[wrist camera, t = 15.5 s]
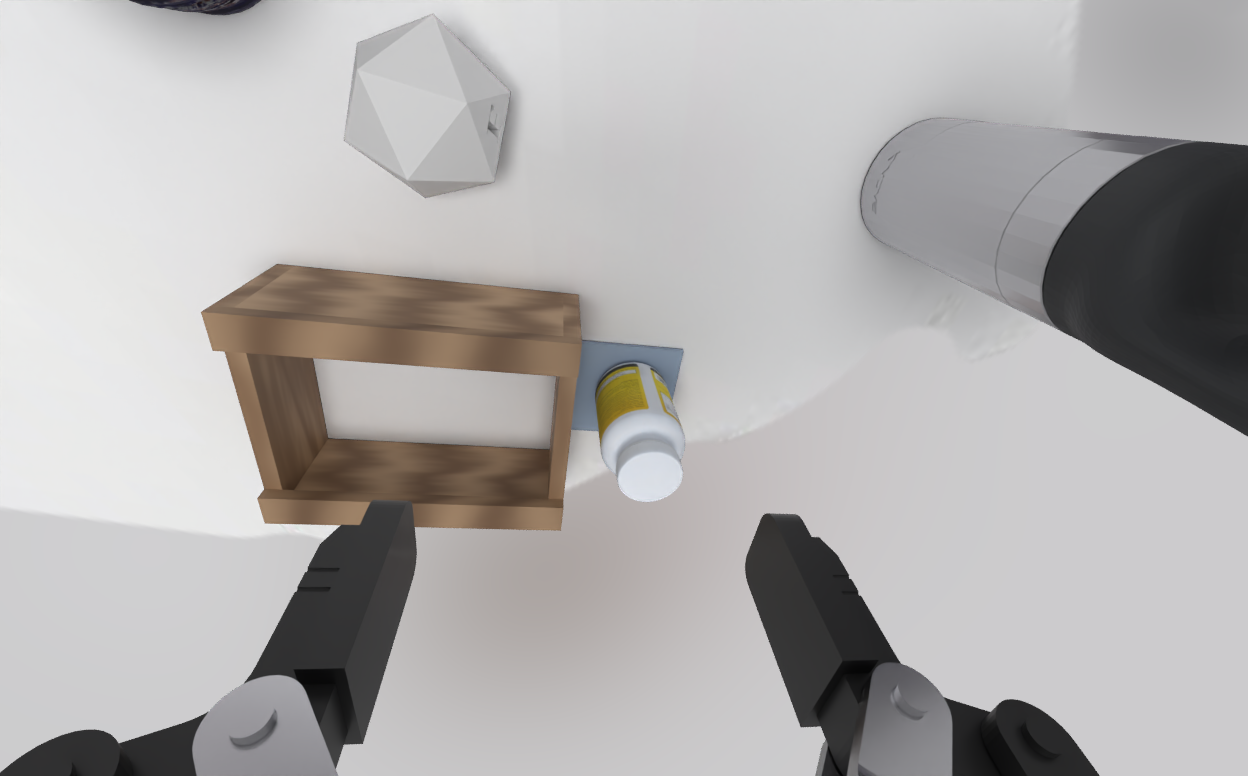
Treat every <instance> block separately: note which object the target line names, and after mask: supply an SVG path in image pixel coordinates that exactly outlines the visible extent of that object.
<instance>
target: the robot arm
mask: <svg viewBox="0 0 1248 776" xmlns="http://www.w3.org/2000/svg"><path fill="white" fill-rule="evenodd" d="M861 209H862V216H863V219H864V222H865V224H866V227H867V228H868V230H869V231H870V232H871V234H872V235H873V236H874V237H875V238H877V239H878V240H879V241H881V242H883V243H885V244H887V245H889V246H891V247H893V248H895V249H897V250H899V251H901V252H903V253H905V254H907V255H908V256H910V257H912V258H914V259H916V260H918V261H920V262H922V263H924V264H926V265H928V266H930V267H932V268H934V269H936V270H939V271H941V272H943V273H945V274H947V275H949V276H951V277H953V278H955V279H957V280H959V281H961V282H963V283H965V284H967V285H969V286H971V287H973V288H975V289H977V290H979V291H981V292H983V293H985V294H987V295H989V296H991V297H993V298H995V299H997V300H999V301H1001V302H1003V303H1005V304H1007V305H1009V306H1011V307H1013V308H1015V309H1017V310H1019V311H1022V312H1024V313H1026V314H1028V315H1030V316H1032V317H1034V318H1036V319H1038V320H1040V321H1042V322H1044V323H1046V324H1048V325H1050V326H1052V327H1054V328H1056V329H1058V330H1060V331H1062V332H1064V333H1066V334H1068V335H1070V336H1072V337H1074V338H1076V339H1078V340H1080V341H1082V342H1084V343H1085V344H1087V345H1088V346H1090V347H1091V348H1092V349H1094V350H1095V351H1097V352H1098V353H1100V354H1102V355H1103V356H1105V357H1107V358H1109V359H1110V360H1112V361H1114V362H1116V363H1118V364H1120V365H1122V366H1123V367H1125V368H1127V369H1129V370H1131V371H1133V372H1135V373H1137V374H1139V375H1141V376H1143V377H1145V378H1147V379H1148V380H1151V381H1152V382H1154V383H1156V384H1158V385H1160V386H1162V387H1163V388H1165V389H1167V390H1169V391H1170V392H1172V393H1174V394H1176V395H1177V396H1179V397H1181V398H1183V399H1185V400H1186V401H1188V402H1190V403H1192V404H1193V405H1195V406H1197V407H1198V408H1200V409H1202V410H1204V411H1205V412H1207V413H1209V414H1211V415H1212V416H1214V417H1215V418H1217V419H1219V420H1221V421H1222V422H1224V423H1226V424H1227V425H1229V426H1231V427H1233V428H1234V429H1236V430H1238V431H1239V432H1241V433H1243V434H1244V435H1246V436H1248V146H1247V145H1237V144H1224V143H1215V142H1201V141H1190V140H1179V139H1168V138H1157V137H1146V136H1130V135H1120V134H1109V133H1098V132H1086V131H1076V130H1066V129H1055V128H1044V127H1033V126H1022V125H1011V124H1000V123H990V122H982V121H971V120H960V119H949V118H936V119H928V120H925V121H922V122H918V123H916V124H914V125H912V126H910V127H908V128H907V129H905V130H903V131H902V132H901V133H899V134H898V135H897V136H895V137H894V138H893V139H892V140H891V141H890V142H889V143H888V144H887V145H886V146H885V147H884V148H883V149H882V150H881V152H880V153H879V155H878V156H877V158H876V159H875V161H874V162H873V164H872V165H871V168H870V170H869V172H868V174H867V176H866V179H865V182H864V186H863V190H862V198H861ZM416 550H417V549H416V538H415V527H414V516H413V506H412V503H411V501H399V500H372V501H371V503H370V504H369V506H368V508H367V510H366V512H365V515H364V517H363V519H362V521H361V523H360V525H341V526H340V527H338V528H337V529H336V530H335V531H334V532H333V533H332V534H331V535H330V536H329V537H327V538H326V539H325V540H324V541H323V542H322V543H321V544H320V546H319V547H318V549H317V551H316V553H315V555H314V557H313V559H312V561H311V562H310V564H309V566H308V571H307V572H305V574H304V576H303V578H302V580H301V581H300V584H299V585H298V590H297V592H295V593H294V595H293V597H292V598H291V600H290V602H289V604H288V606H287V608H286V610H285V612H284V614H283V616H282V618H281V619H280V621H279V623H278V625H277V627H276V629H275V631H274V633H273V634H272V636H271V638H270V640H269V642H268V644H267V646H266V648H265V650H264V652H263V653H262V655H261V657H260V659H259V661H258V663H257V665H256V667H255V668H254V670H253V672H252V673H251V675H250V676H249V677H248V679H247V680H246V681H245V683H244V684H242V685H241V686H239V687H237V688H236V689H234V690H232V691H231V692H230V693H228V694H227V695H226V696H224V697H223V698H222V699H221V700H220V701H219V702H217V704H215V705H214V707H213V708H212V709H211V710H210V711H209V712H207V713H206V714H204V715H201V716H199V717H197V718H195V719H193V720H190V721H187V722H185V723H182V724H179V725H176V726H172V727H169V728H166V729H163V730H160V731H157V732H154V733H151V734H147V735H144V736H141V737H138V738H135V739H132V740H129V741H125V742H122V743H118V742H117V740H116V739H115V738H114V737H113V736H112V735H111V734H108V733H106V732H104V731H100V730H82V731H75V732H71V733H68V734H65V735H61V736H59V737H56V738H54V739H52V740H49V741H47V742H45V743H43V744H41V745H39V746H37V747H35V748H34V749H32V750H31V751H29V752H27V753H26V754H24V755H23V756H21V757H20V758H18V759H17V760H16V761H14V762H13V763H11V764H10V765H9V766H8V767H7V768H5V769H4V770H3V771H2V772H1V773H0V776H338V774H337V772H336V766H337V763H338V760H339V757H340V754H341V751H342V748H343V745H344V744H363V741H364V738H365V735H366V731H367V727H368V725H369V722H370V718H371V715H372V712H373V708H374V705H375V701H376V699H377V695H378V692H379V689H380V685H381V682H382V679H383V675H384V672H385V669H386V666H387V662H388V659H389V656H390V652H391V649H392V646H393V643H394V639H395V636H396V633H397V629H398V626H399V622H400V619H401V616H402V613H403V609H404V606H405V603H406V600H407V596H408V593H409V590H410V586H411V583H412V580H413V576H414V571H415V565H416V555H417V551H416ZM745 571H746V578H747V582H748V585H749V588H750V591H751V594H752V596H753V599H754V602H755V604H756V607H757V610H758V612H759V615H760V618H761V621H762V623H763V626H764V629H765V631H766V634H767V637H768V640H769V642H770V645H771V647H772V650H773V653H774V656H775V658H776V661H777V664H778V667H779V669H780V672H781V675H782V677H783V680H784V683H785V686H786V688H787V691H788V694H789V696H790V699H791V702H792V704H793V707H794V710H795V712H796V715H797V718H798V721H799V723H800V726H801V727H817V726H821V728H822V730H823V733H824V736H825V738H826V740H825V742H824V743H823V746H822V748H821V753H820V758H819V762H818V766H817V771H816V776H1099V774H1098V773H1097V771H1095V769H1094V767H1093V766H1092V765H1091V763H1090V762H1089V761H1088V759H1087V758H1086V756H1085V755H1084V754H1083V752H1082V751H1081V749H1080V748H1079V747H1078V746H1077V744H1076V743H1075V741H1074V740H1073V739H1072V738H1071V736H1070V735H1069V734H1068V733H1067V732H1066V731H1065V729H1063V727H1062V726H1060V725H1059V724H1058V723H1057V722H1056V721H1055V720H1054V719H1053V718H1051V717H1050V716H1049V715H1048V714H1046V713H1045V712H1043V711H1042V710H1040V709H1038V708H1036V707H1035V706H1033V705H1031V704H1028V703H1026V702H1023V701H1019V700H1013V699H1010V700H1004V701H1002V702H1001V703H999V705H997V706H996V708H994V709H993V710H992V711H991V712H988V711H985V710H981V709H978V708H975V707H972V706H969V705H966V704H962V703H960V702H956V701H953V700H950V699H947V698H944V697H943V696H942V695H941V693H940V692H939V690H938V689H937V688H936V687H935V686H934V685H933V684H932V683H931V682H930V681H929V680H928V679H927V678H926V677H924V676H923V675H922V674H920V673H919V672H917V671H916V670H914V669H912V668H910V667H908V666H906V665H903V664H901V663H900V661H899V660H898V659H897V657H896V655H895V654H894V652H893V650H892V649H891V647H890V645H889V643H888V641H887V640H886V638H885V636H884V635H883V633H882V631H881V630H880V628H879V626H878V624H877V623H876V621H875V619H874V617H873V616H872V614H871V612H870V611H869V609H868V607H867V605H866V604H865V602H864V600H863V598H862V597H861V596H859V595H858V590H857V588H856V586H855V585H854V583H853V581H852V580H851V579H849V574H848V573H847V571H846V569H845V567H844V566H843V564H842V562H841V561H840V559H839V557H838V556H837V554H836V553H835V552H834V551H833V550H832V549H831V548H829V547H828V546H827V545H826V544H825V543H824V542H823V541H822V540H821V539H820V538H819V537H811V535H810V533H809V531H808V530H807V528H806V526H805V524H804V522H803V520H802V519H801V518H800V517H799V516H798V515H795V514H765V515H763V517H762V518H761V521H760V523H759V526H758V528H757V531H756V534H755V536H754V539H753V541H752V544H751V546H750V549H749V552H748V554H747V557H746V563H745Z"/></svg>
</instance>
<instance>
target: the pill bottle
mask: <svg viewBox="0 0 1248 776" xmlns="http://www.w3.org/2000/svg"><path fill="white" fill-rule="evenodd" d="M595 402H596V411H597V421H598V428H599V438H600V447H601V454H602V458H603V460H604V462H605V464H606V466H607V467H608V468H609V469H610V470H611V471H612V472H613V473H614V474H615V475H616V476H617V482H618V485H619V488H620V490H621V491H622V492H623V493H624V494H625V495H626V496H628V497H629V498H631V499H633V500H636V501H641V502H652V501H657V500H660V499H663V498H665V497H667V496H669V495H670V494H672V493H673V492H674V491H675V490H676V489H677V488H678V487H679V485H680V483H681V481H682V477H683V469H682V465H681V461H680V460H681V458H682V456H683V453H684V449H685V437H684V433H683V430H682V427H681V424H680V421H679V418H678V416H677V413H676V410H675V407H674V405H673V402H672V399H671V396H670V393H669V390H668V388H667V385H666V383H665V380H664V379H663V377H662V376H661V374H660V373H659V372H658V371H657V370H655V369H654V368H652V367H651V366H649V365H646V364H643V363H636V362H630V363H624V364H620V365H617V366H615V367H613V368H612V369H610V370H609V371H607V372H606V373H605V374H604V375H603V376H602V378H601V379H600V381H599V383H598V385H597V388H596V392H595Z"/></svg>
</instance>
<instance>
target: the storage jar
mask: <svg viewBox="0 0 1248 776" xmlns="http://www.w3.org/2000/svg"><path fill="white" fill-rule="evenodd" d="M130 1H133V2H136V3H138V4H141V5H146V6H151V7H157V8H166V9H172V10H177V11H183V12H200V13H206V14H211V15H229V14H234V13H239V12H242V11H244V10H246V9H249V8H251V7H253V6H254V5H255V4H257V3H258V2H259V1H261V0H130Z"/></svg>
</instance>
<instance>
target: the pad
mask: <svg viewBox="0 0 1248 776" xmlns="http://www.w3.org/2000/svg"><path fill="white" fill-rule="evenodd" d="M682 356H683V349H676V348H664V347H653V346H641V345H630V344H618V343H607V342H595V341H584V340H582V349H581V357H580V366H579V375H578V378H577V382H576V391H575V400H574V409H573V418H572V426H571V430H587V431H599V428H598V421H597V411H596V402H595V392H596V388H597V385H598V383H599V381H600V379H601V378H602V376H603V375H604V374H605V373H606V372H607V371H609V370H610V369H612V368H613V367H615V366H617V365H620V364H624V363H630V362H636V363H643V364H646V365H649V366H651V367H652V368H654V369H655V370H657V371H658V372H659V373H660V374H661V376H662V377H663V379H664V380H665V383H666V385H667V388H668V390H669V393H670V396H671V399H673V395H674V391H675V386H676V382H677V377H678V373H679V369H680V364H681V360H682Z"/></svg>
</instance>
